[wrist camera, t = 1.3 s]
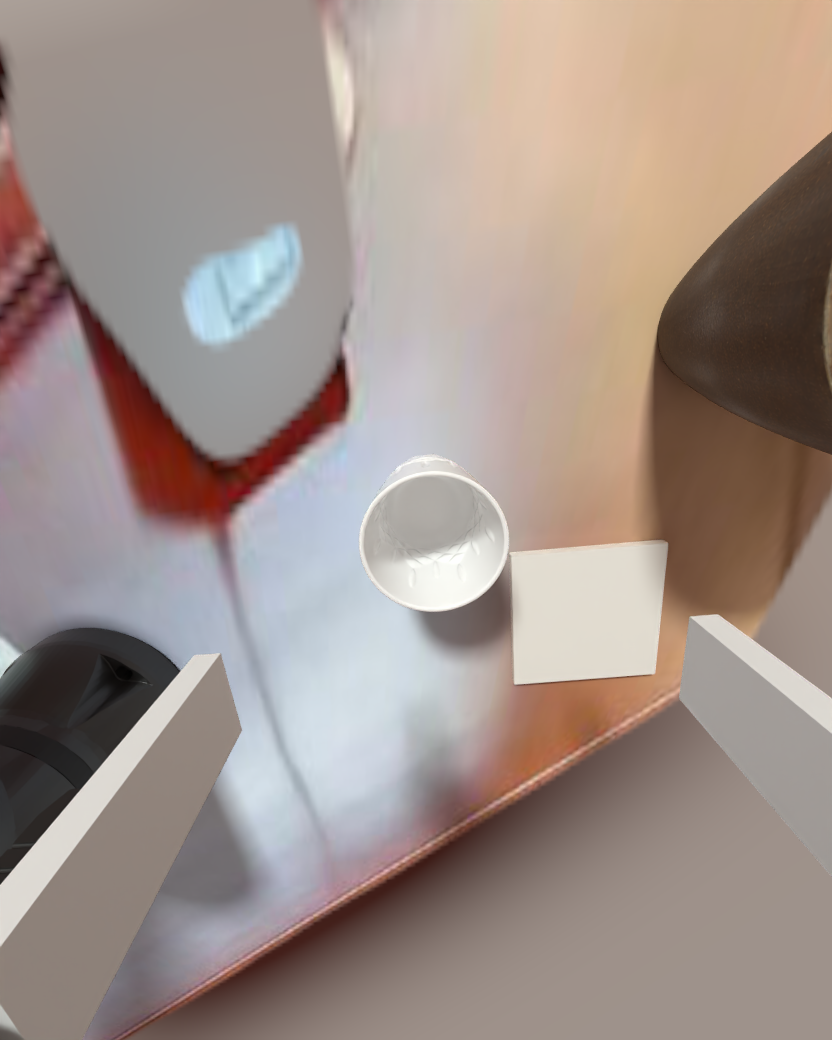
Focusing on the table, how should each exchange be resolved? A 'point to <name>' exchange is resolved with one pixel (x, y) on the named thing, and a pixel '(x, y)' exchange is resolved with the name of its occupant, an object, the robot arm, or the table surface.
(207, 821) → the table surface
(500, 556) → the white cup
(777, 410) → the plant pot
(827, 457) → the table surface
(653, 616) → the tile
